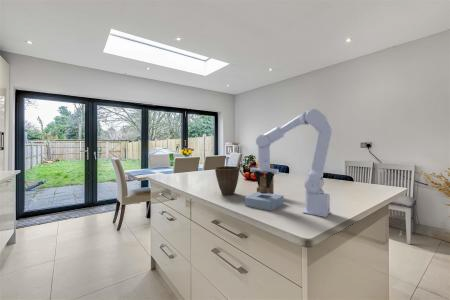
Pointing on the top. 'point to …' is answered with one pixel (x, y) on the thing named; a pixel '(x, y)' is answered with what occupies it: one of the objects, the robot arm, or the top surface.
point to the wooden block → (271, 189)
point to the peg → (263, 185)
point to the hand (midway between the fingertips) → (264, 187)
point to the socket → (264, 201)
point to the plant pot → (227, 179)
